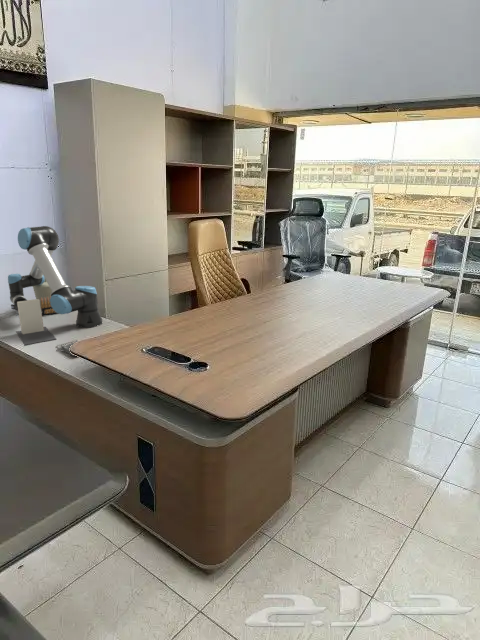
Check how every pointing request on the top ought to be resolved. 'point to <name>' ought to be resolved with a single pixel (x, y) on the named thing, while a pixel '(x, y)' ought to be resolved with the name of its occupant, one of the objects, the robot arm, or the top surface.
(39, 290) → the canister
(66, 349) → the graphics card
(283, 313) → the top surface
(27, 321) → the book
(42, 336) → the desk pad
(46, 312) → the ammunition clip
